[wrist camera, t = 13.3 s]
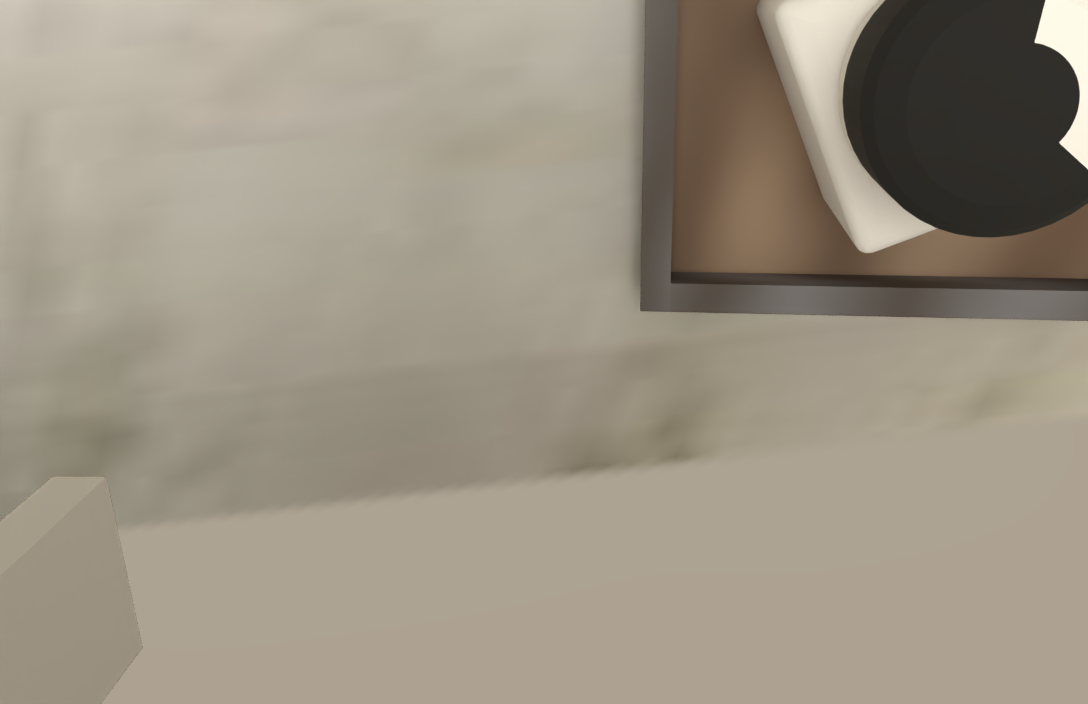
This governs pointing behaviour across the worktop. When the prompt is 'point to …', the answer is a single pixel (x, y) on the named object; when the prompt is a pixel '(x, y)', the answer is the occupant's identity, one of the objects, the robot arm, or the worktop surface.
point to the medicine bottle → (938, 111)
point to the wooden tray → (798, 202)
